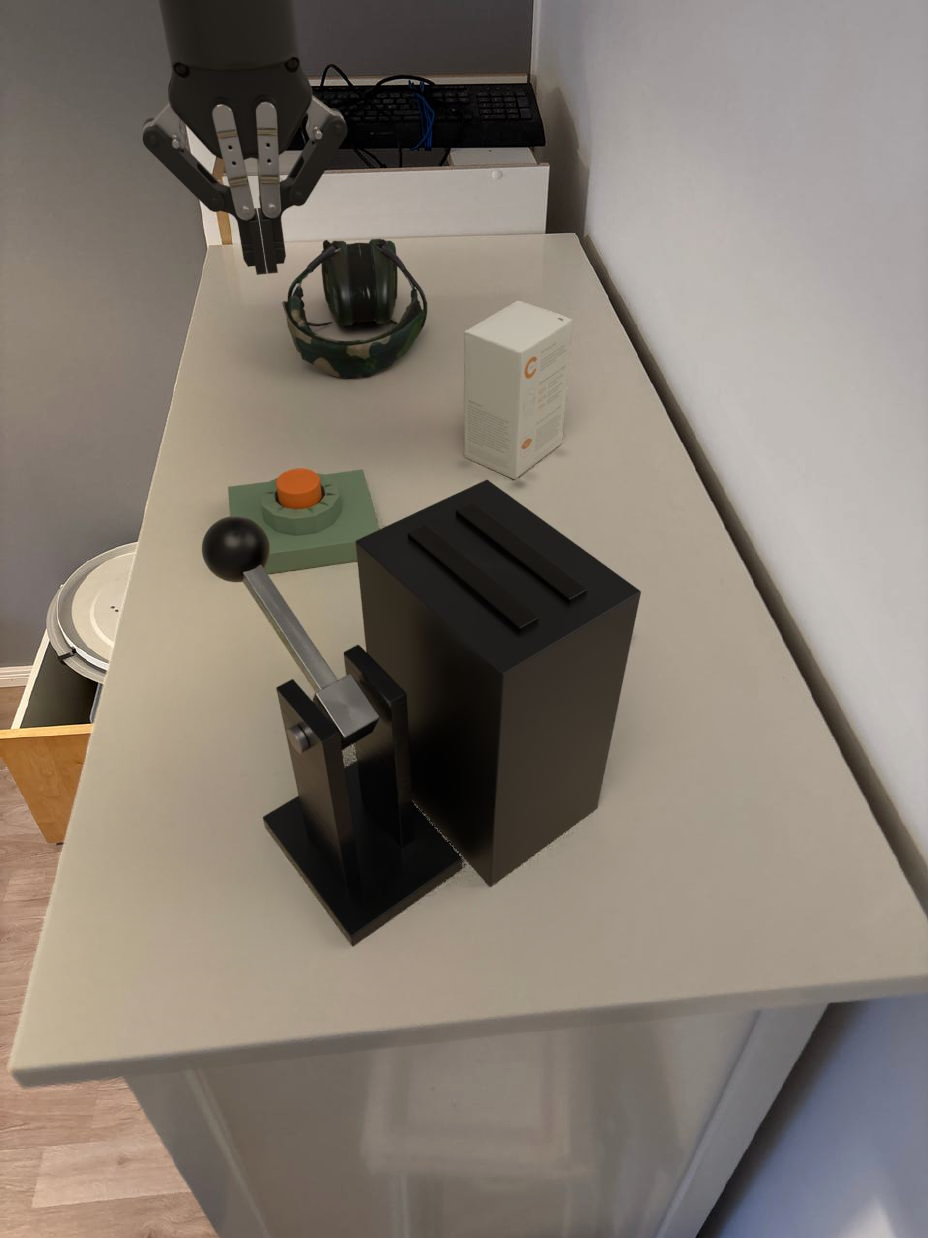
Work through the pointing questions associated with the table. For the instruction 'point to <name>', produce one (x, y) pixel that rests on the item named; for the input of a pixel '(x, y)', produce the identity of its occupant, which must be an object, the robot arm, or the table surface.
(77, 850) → the table surface
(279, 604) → the toaster lever
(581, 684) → the toaster
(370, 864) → the lever bracket
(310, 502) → the button
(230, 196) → the robot arm
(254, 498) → the control block
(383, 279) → the headphones
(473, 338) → the small box
